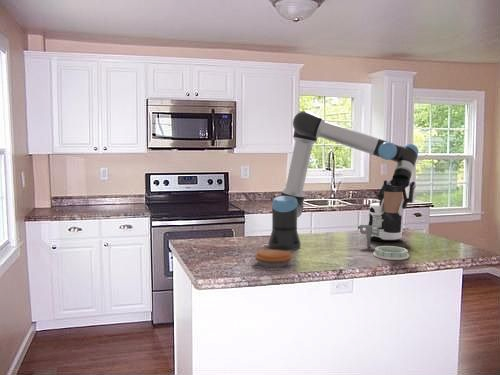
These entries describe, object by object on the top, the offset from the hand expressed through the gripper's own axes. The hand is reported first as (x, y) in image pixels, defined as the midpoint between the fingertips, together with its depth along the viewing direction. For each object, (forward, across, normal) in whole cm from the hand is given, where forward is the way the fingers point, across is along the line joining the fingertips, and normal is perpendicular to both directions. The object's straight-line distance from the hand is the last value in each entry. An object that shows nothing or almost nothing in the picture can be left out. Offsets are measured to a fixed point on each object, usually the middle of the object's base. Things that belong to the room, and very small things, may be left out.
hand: (390, 212), depth 198 cm
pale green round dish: (+11, 0, -16) cm, 20 cm away
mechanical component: (+3, +15, -24) cm, 29 cm away
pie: (+40, +35, +13) cm, 55 cm away
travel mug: (+4, 0, -9) cm, 9 cm away
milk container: (-10, +14, -38) cm, 42 cm away
